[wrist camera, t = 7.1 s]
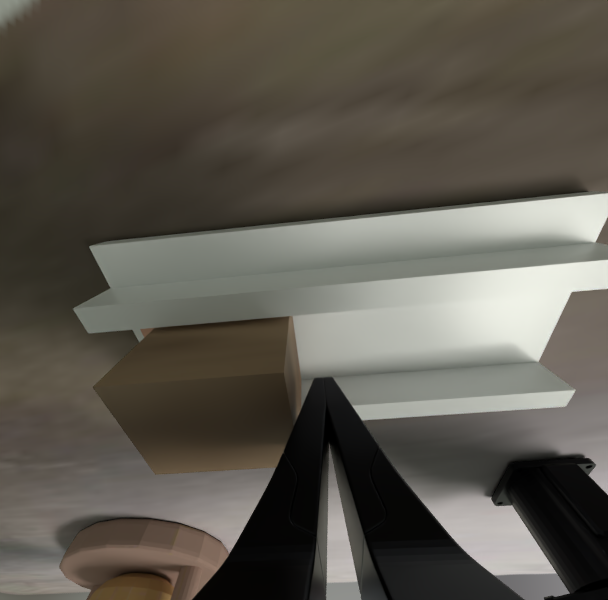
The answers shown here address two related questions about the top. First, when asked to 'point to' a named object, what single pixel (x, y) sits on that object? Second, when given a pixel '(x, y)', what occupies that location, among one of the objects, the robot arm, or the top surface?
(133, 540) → the hourglass
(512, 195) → the top surface
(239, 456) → the walnut block
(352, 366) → the grey chute
